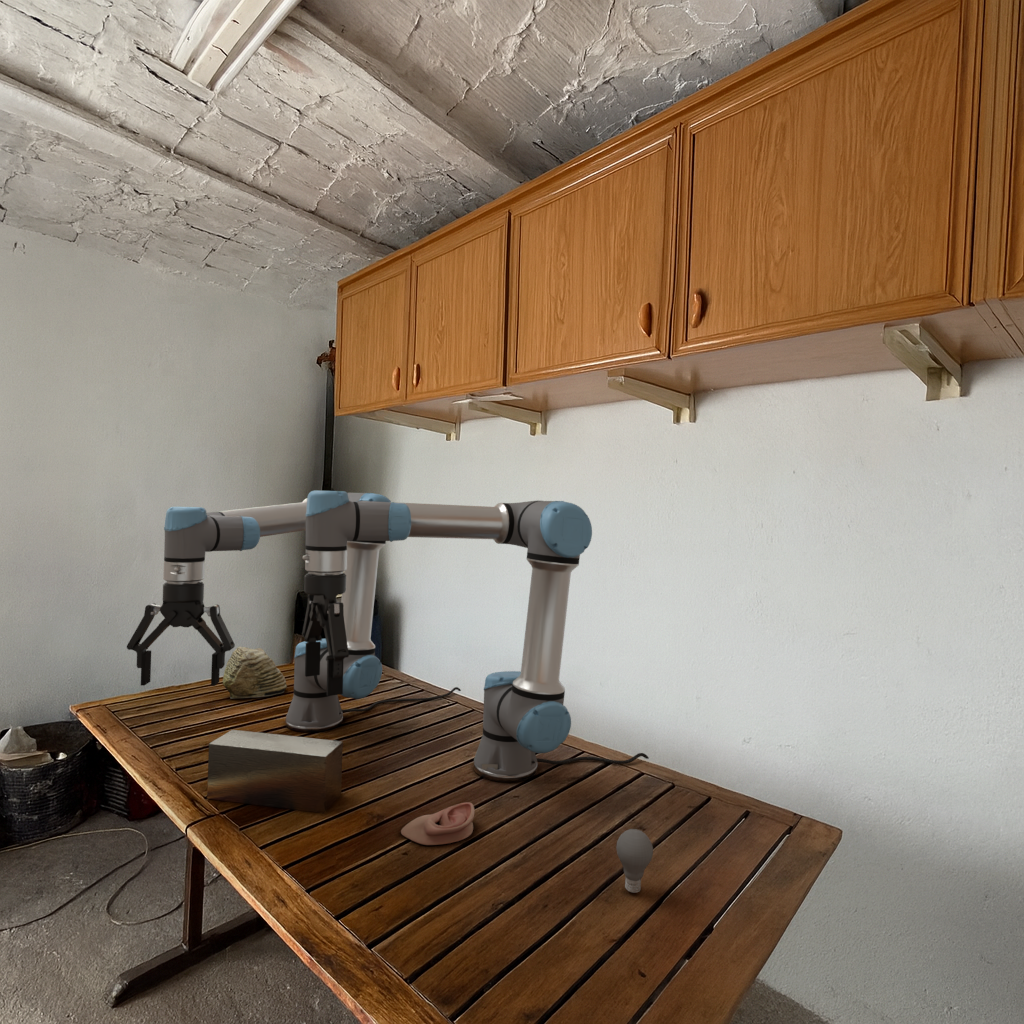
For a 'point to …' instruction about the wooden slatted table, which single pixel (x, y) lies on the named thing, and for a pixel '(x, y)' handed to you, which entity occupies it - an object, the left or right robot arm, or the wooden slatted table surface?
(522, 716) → the right robot arm
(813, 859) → the wooden slatted table surface
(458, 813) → the anatomical model
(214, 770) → the box
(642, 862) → the light bulb
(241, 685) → the fossil
